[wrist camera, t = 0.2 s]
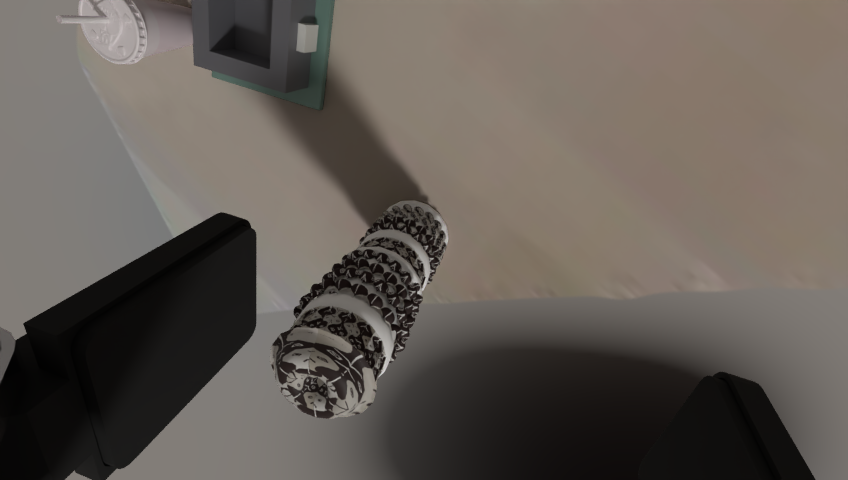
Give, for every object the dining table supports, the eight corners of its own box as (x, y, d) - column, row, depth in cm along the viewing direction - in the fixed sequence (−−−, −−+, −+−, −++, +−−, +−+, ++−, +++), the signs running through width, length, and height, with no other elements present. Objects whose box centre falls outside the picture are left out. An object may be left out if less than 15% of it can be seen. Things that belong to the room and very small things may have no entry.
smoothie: (218, 9, 44) (94, 4, 32) (208, 68, 48) (93, 83, 36) (165, -20, 45) (22, -37, 32) (159, 41, 48) (27, 46, 36)
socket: (223, -48, 41) (189, -55, 37) (325, -20, 40) (301, -24, 36) (224, 61, 46) (193, 65, 42) (315, 89, 45) (292, 95, 41)
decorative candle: (376, 191, 49) (238, 322, 28) (454, 202, 47) (374, 352, 26) (376, 260, 53) (258, 420, 32) (448, 272, 51) (375, 452, 30)
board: (215, -75, 41) (200, -79, 39) (339, -42, 39) (329, -45, 38) (217, 76, 48) (204, 78, 46) (322, 109, 46) (313, 112, 45)
